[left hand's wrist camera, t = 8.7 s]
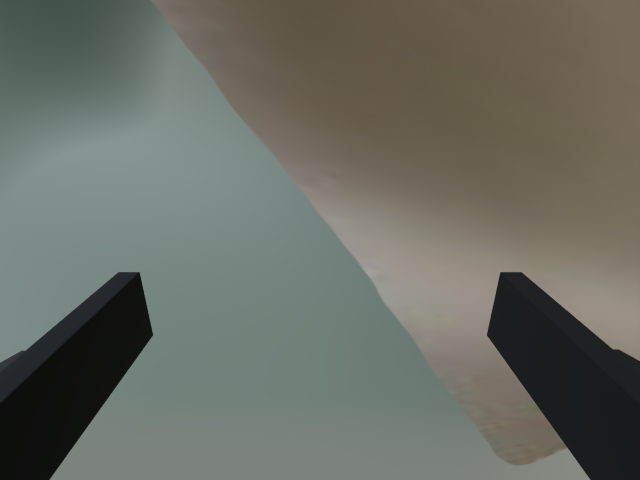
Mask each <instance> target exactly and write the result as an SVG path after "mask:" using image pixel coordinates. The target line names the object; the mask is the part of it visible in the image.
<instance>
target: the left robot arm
mask: <svg viewBox="0 0 640 480" xmlns="http://www.w3.org/2000/svg"><path fill="white" fill-rule="evenodd" d="M152 336H153V333H152V328H151V323H150V319H149V314H148V309H147V305H146V300H145V295H144V291H143V286H142V281H141V277H140V273H139V272H119V273H117V274H116V275H115V276H114V277H112V278H111V279H110V280H109V281H108V282H107V283H105V284H104V285H103V286H102V287H101V288H99V289H98V290H97V291H96V292H95V293H93V294H92V295H91V296H90V297H89V298H88V299H86V300H85V301H84V302H83V303H82V304H80V305H79V306H78V307H77V308H76V309H75V310H73V311H72V312H71V313H70V314H69V315H67V316H66V317H65V318H64V319H63V320H61V321H60V322H59V323H58V324H57V325H56V326H54V327H53V328H52V329H51V330H50V331H48V332H47V333H46V334H45V335H44V336H43V337H41V338H40V339H39V340H38V341H37V342H35V343H34V344H33V345H32V346H31V347H30V348H28V349H27V350H26V351H21V352H19V353H17V354H15V355H13V356H12V357H10V358H8V359H6V360H4V361H3V362H1V363H0V480H50V478H51V477H52V475H53V474H54V473H55V471H56V470H57V468H58V467H59V466H60V464H61V463H62V461H63V460H64V459H65V457H66V456H67V454H68V453H69V452H70V450H71V449H72V447H73V446H74V445H75V443H76V442H77V440H78V439H79V438H80V436H81V435H82V433H83V432H84V431H85V429H86V428H87V427H88V425H89V424H90V422H91V421H92V420H93V418H94V417H95V415H96V414H97V413H98V411H99V410H100V408H101V407H102V406H103V404H104V403H105V401H106V400H107V399H108V397H109V396H110V394H111V393H112V392H113V390H114V389H115V388H116V386H117V385H118V383H119V382H120V381H121V379H122V378H123V376H124V375H125V374H126V372H127V371H128V369H129V368H130V367H131V365H132V364H133V362H134V361H135V360H136V358H137V357H138V355H139V354H140V353H141V351H142V350H143V348H144V347H145V346H146V344H147V343H148V341H149V340H150V339H151V337H152ZM487 336H488V337H489V339H490V340H491V341H492V343H493V344H494V346H495V347H496V348H497V350H498V351H499V353H500V354H501V355H502V357H503V358H504V360H505V361H506V362H507V364H508V365H509V367H510V368H511V369H512V371H513V372H514V374H515V375H516V376H517V378H518V379H519V381H520V382H521V383H522V385H523V386H524V388H525V389H526V390H527V392H528V393H529V394H530V396H531V397H532V399H533V400H534V401H535V403H536V404H537V406H538V407H539V408H540V410H541V411H542V413H543V414H544V415H545V417H546V418H547V420H548V421H549V422H550V424H551V425H552V427H553V428H554V429H555V431H556V432H557V434H558V435H559V436H560V438H561V439H562V441H563V442H564V443H565V445H566V446H567V447H568V449H569V450H570V452H571V453H572V454H573V456H574V457H575V459H576V460H577V461H578V463H579V464H580V466H581V467H582V468H583V470H584V471H585V473H586V474H587V475H588V477H589V478H590V480H640V361H638V360H637V359H635V358H633V357H631V356H629V355H628V354H626V353H624V352H622V351H620V350H613V349H612V348H610V347H609V346H608V345H607V344H606V343H605V342H603V341H602V340H601V339H600V338H599V337H597V336H596V335H595V334H594V333H593V332H592V331H590V330H589V329H588V328H587V327H586V326H584V325H583V324H582V323H581V322H580V321H579V320H577V319H576V318H575V317H574V316H573V315H571V314H570V313H569V312H568V311H567V310H565V309H564V308H563V307H562V306H561V305H560V304H558V303H557V302H556V301H555V300H554V299H552V298H551V297H550V296H549V295H548V294H547V293H545V292H544V291H543V290H542V289H541V288H539V287H538V286H537V285H536V284H535V283H534V282H532V281H531V280H530V279H529V278H528V277H526V276H525V275H524V274H523V273H522V272H500V277H499V281H498V286H497V291H496V295H495V300H494V305H493V309H492V314H491V319H490V323H489V328H488V333H487Z"/></svg>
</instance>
